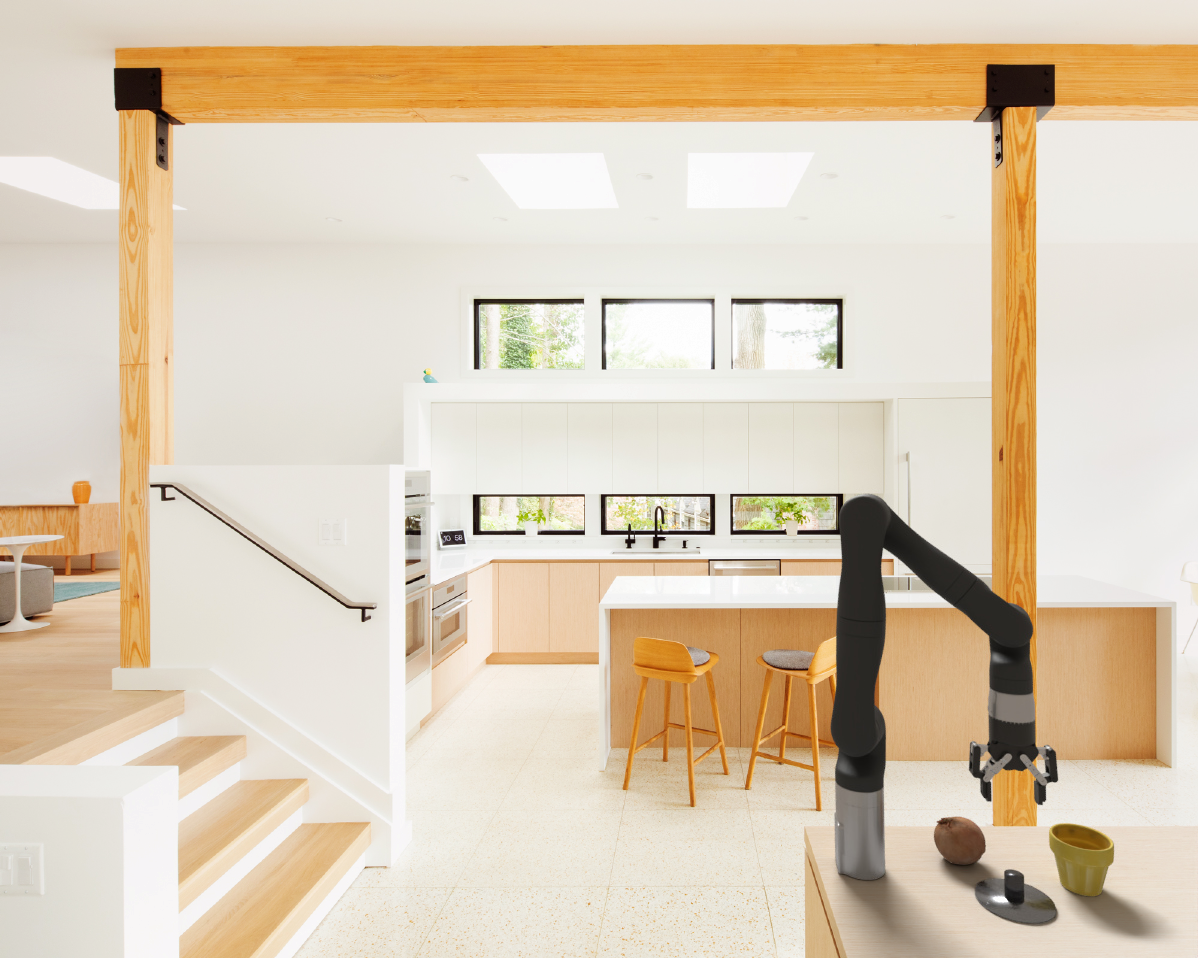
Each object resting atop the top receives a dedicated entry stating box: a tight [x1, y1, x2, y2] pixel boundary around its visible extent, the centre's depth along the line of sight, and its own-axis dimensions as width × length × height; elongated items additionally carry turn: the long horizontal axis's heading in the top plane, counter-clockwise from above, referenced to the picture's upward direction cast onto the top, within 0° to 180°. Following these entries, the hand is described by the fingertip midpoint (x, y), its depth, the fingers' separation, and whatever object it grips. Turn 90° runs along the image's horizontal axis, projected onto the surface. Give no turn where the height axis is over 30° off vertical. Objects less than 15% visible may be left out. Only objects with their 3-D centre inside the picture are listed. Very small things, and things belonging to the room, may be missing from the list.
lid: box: [974, 868, 1057, 925], centre depth 135 cm, size 13×13×6 cm
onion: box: [933, 816, 987, 865], centre depth 148 cm, size 10×9×10 cm
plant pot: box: [1048, 822, 1115, 897], centre depth 139 cm, size 10×10×10 cm
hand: (1013, 801), depth 134 cm, fingers open, 8 cm apart
